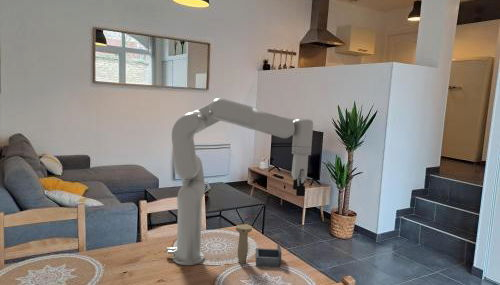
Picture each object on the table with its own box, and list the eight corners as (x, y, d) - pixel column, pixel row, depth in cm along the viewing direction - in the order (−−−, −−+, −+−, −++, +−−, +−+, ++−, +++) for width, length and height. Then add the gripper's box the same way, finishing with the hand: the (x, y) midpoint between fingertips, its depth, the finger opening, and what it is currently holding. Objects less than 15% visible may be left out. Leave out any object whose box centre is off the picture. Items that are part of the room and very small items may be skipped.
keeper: (255, 265, 142) (256, 251, 141) (255, 256, 150) (256, 242, 150) (280, 267, 142) (281, 252, 141) (278, 257, 151) (279, 243, 150)
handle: (249, 265, 141) (251, 229, 140) (233, 264, 142) (235, 228, 140) (250, 260, 146) (252, 225, 144) (234, 259, 146) (236, 224, 145)
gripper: (289, 146, 148) (286, 186, 150) (294, 153, 131) (291, 198, 133) (307, 147, 148) (304, 187, 150) (315, 154, 131) (311, 199, 133)
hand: (298, 192), depth 141 cm, fingers open, 9 cm apart
